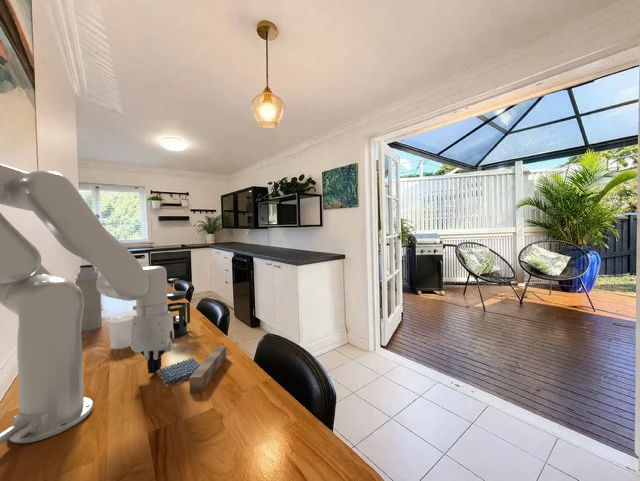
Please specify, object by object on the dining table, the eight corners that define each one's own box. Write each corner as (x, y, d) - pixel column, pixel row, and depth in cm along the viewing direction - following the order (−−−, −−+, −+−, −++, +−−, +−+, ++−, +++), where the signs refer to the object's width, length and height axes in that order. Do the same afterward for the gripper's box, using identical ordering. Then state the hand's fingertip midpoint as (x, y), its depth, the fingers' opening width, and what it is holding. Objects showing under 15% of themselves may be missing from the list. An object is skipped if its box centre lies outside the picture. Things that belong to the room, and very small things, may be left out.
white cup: (121, 351, 88) (120, 323, 88) (103, 349, 90) (102, 321, 90) (141, 341, 96) (140, 315, 96) (124, 340, 98) (123, 314, 97)
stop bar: (201, 392, 65) (201, 377, 65) (189, 392, 65) (189, 377, 65) (226, 358, 83) (226, 345, 83) (217, 358, 83) (216, 346, 83)
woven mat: (193, 361, 81) (193, 355, 81) (206, 374, 74) (206, 367, 74) (156, 375, 74) (155, 368, 74) (166, 390, 67) (166, 383, 66)
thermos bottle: (98, 323, 116) (95, 263, 115) (104, 327, 112) (102, 264, 111) (74, 329, 109) (72, 265, 109) (80, 333, 105) (78, 266, 104)
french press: (168, 341, 96) (167, 281, 95) (154, 337, 100) (152, 279, 100) (196, 331, 106) (195, 276, 106) (182, 327, 111) (180, 275, 110)
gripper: (116, 313, 69) (118, 379, 70) (171, 312, 70) (173, 377, 70) (135, 305, 77) (137, 365, 77) (185, 304, 77) (187, 363, 78)
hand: (154, 371), depth 74 cm, fingers closed
